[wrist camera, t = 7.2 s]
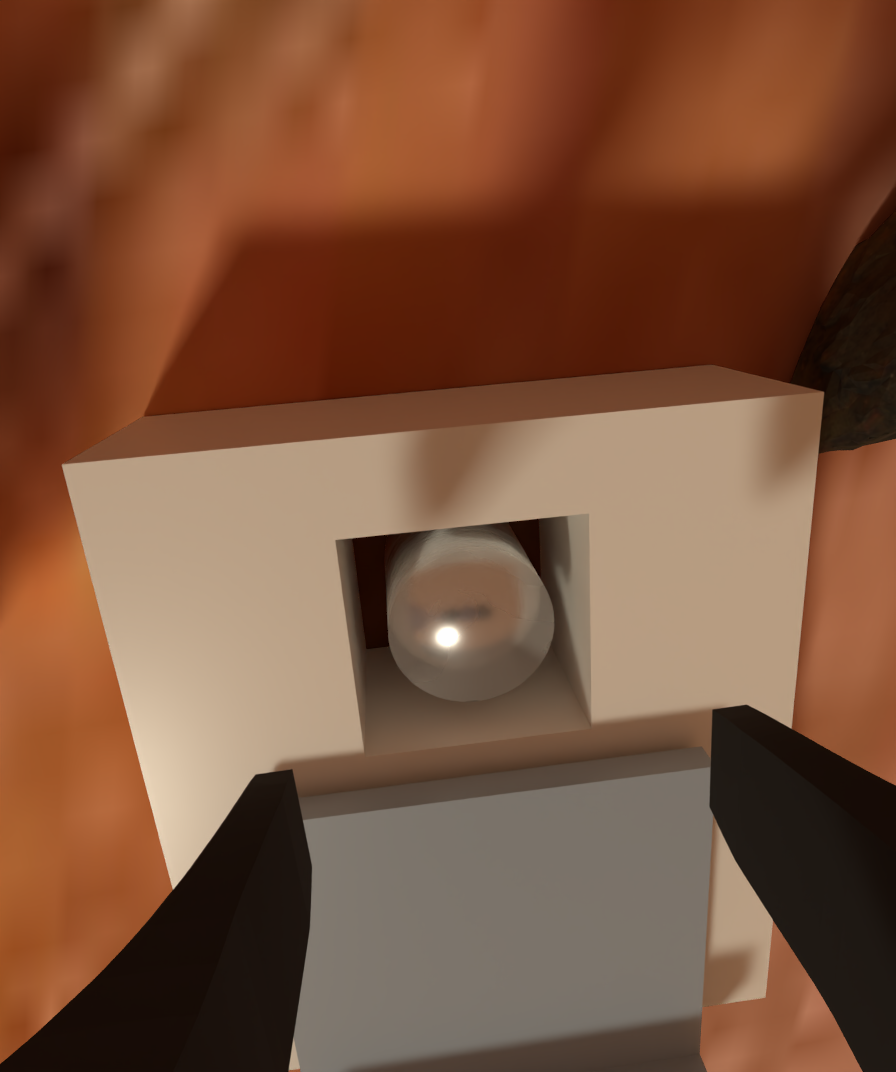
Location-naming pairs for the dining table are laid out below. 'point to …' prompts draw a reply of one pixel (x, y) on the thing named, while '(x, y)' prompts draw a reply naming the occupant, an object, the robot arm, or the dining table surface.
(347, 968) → the cover
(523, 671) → the peg
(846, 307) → the hand tool
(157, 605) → the housing
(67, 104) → the dining table surface
